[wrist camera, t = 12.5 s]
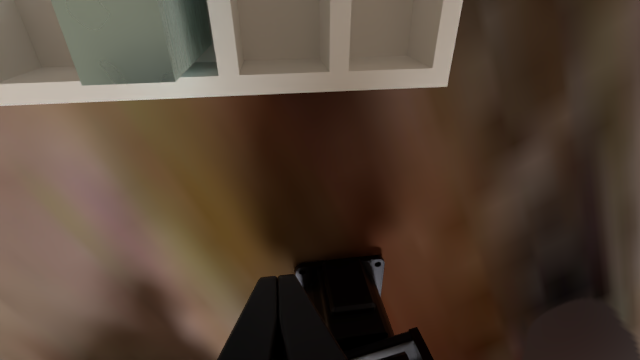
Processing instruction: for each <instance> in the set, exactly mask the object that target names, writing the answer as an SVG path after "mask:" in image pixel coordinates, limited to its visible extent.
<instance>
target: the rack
mask: <svg viewBox="0 0 640 360" xmlns="http://www.w3.org/2000/svg"><path fill="white" fill-rule="evenodd" d="M462 3H463V0H205V5H206V11H207V17H208V24H209V30H210V36H211V42H212V44H211V45H210V46H209V47H208V49H207V50H206V51H205V52H204V53H203V54H202V55H201V56H200V57H199V58H198V59H197V60H196V61H195V62H194V63H193V64H192V65H191V66H190V67H189V68H188V69H187V70H186V71H185V72H184V73H183V74H182V76H181V77H180V78H179V79H178V80H177V81H176V82H161V83H136V84H111V85H86V86H82V84H81V82H80V79H79V76H78V73H77V71H76V68H75V65H74V62H73V60H72V57H71V54H70V52H69V49H68V46H67V43H66V41H65V38H64V35H63V32H62V30H61V27H60V24H59V22H58V19H57V16H56V13H55V11H54V8H53V5H52V2H51V0H0V106H9V105H32V104H55V103H78V102H101V101H125V100H148V99H171V98H194V97H217V96H240V95H263V94H286V93H309V92H332V91H356V90H379V89H402V88H425V87H447V84H448V78H449V73H450V67H451V62H452V57H453V51H454V46H455V41H456V35H457V30H458V24H459V19H460V14H461V8H462Z"/></svg>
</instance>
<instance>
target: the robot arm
mask: <svg viewBox="0 0 640 360" xmlns="http://www.w3.org/2000/svg"><path fill="white" fill-rule="evenodd" d="M376 262H378V263H376ZM301 270H304V271H301ZM295 272H296V276H295V275H294V274H288V275H280V276H278V279H277V277H276V276H269V277H261V278H260V279H259V280H258V282H257V284H256V286H255V288H254V290H253V292H252V293H251V295H250V297H249V299H248V301H247V303H246V305H245V307H244V309H243V311H242V313H241V315H240V317H239V318H238V320H237V322H236V324H235V326H234V328H233V330H232V332H231V334H230V336H229V338H228V340H227V342H226V344H225V345H224V347H223V349H222V351H221V353H220V355H219V357H218V359H217V360H434V359H433V357H432V356H431V354H430V352H429V350H428V348H427V346H426V344H425V342H424V340H423V338H422V336H421V334H420V332H419V330H418V328H417V327H415V328H412V329H409V331H408V332H405V333H401V334H398V335H394V333H393V330H392V327H391V324H390V322H389V319H388V316H387V313H386V311H385V308H384V305H383V302H382V300H381V297H380V296H381V288H382V280H383V272H384V260H383V258H382V257H381V256H367V257H357V258H348V259H338V260H328V261H318V262H308V263H301V264H298V265H297V266H296V268H295Z"/></svg>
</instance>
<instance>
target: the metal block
mask: <svg viewBox="0 0 640 360" xmlns="http://www.w3.org/2000/svg"><path fill="white" fill-rule="evenodd" d="M51 2H52V5H53V8H54V11H55V13H56V16H57V19H58V22H59V24H60V27H61V30H62V32H63V35H64V38H65V41H66V43H67V46H68V49H69V52H70V54H71V57H72V60H73V62H74V65H75V68H76V71H77V73H78V76H79V79H80V82H81V84H82V86H86V85H111V84H136V83H161V82H176V81H177V80H178V79H179V78H180V77H181V76H182V74H183V73H184V72H185V71H186V70H187V69H188V68H189V67H190V66H191V65H192V64H193V63H194V62H195V61H196V60H197V59H198V58H199V57H200V56H201V55H202V54H203V53H204V52H205V51H206V50H207V49H208V47H209V46H210V45H211V44H212V42H211V36H210V30H209V24H208V17H207V11H206V5H205V0H51Z"/></svg>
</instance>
